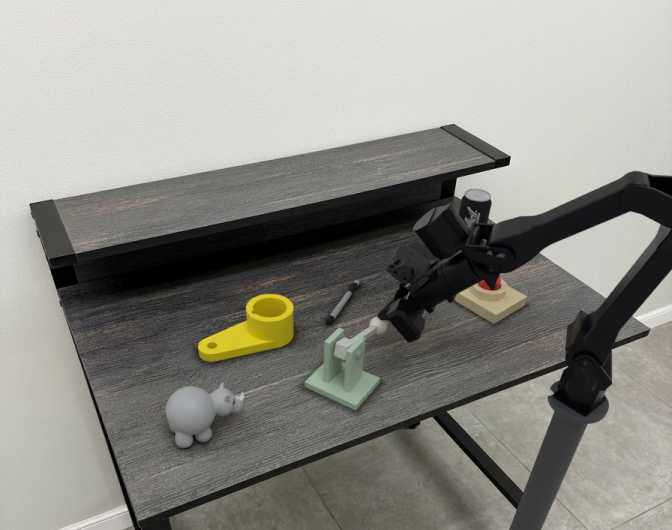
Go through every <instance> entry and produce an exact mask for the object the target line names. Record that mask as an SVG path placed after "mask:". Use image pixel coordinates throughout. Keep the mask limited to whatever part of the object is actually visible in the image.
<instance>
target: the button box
mask: <svg viewBox="0 0 672 530" xmlns="http://www.w3.org/2000/svg"><path fill="white" fill-rule="evenodd" d="M527 300H528V296H527V295H526V294H524V293H522V292H521V291H518V290H517V289H514V288H513V287H511V286H510V285H508V284H507V282H506V281H505V280H504V279H502V278H501V283H500V287H499V289H498V290H496V291H489V290H485V289H483V288H481V287H480V286H479V283H477V284H475V285H473V286H472V287H470V288H468V289H466V290H464V291H462V292H460V293H458V294H457V295H456V298H455V301H454V302H456V303H458V304H459V305H461V306H463V307H464V308H466V309H468V310H469V311H471V312H473V313H474V314H476V315H477V316H480V317H481V318H483V319H484V320H486V321H488V322H490V323H491V324H492V325H495V324H497V323H498V322H500V321H501V320H503V319H505V318H507V317H509V315H512V314H513V313H515V312H517V311H518V310H519V309H521V308H523V307H525V306H526V303H527Z"/></svg>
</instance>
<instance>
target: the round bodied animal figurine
mask: <svg viewBox="0 0 672 530" xmlns="http://www.w3.org/2000/svg"><path fill="white" fill-rule="evenodd" d="M224 385H225V383H224V381H222V382H221V383H220V384H219V386H218V388H216V389H215V390H213V391H212V392H211V393H209V392H207V391H206V390H205V389H203V388H201V387H198V386H193V385H190V386H189V385H188V386H183V387H181V388H179V389H177V390H176V391H174V392H173V393H172V394H171V395H170V397H169V398H168V400H167V403H166V405H165V407H164V412H165V416H166V420H167V422H168V428H169V430H170V431H171V432H172V433H174V434H175V436H174V440H175V445H176V446H177V447H178V448H181V449H187V448H189V447H191V446H192V444H193V442H194V438H195V440H196V441H197V442H200V443H207V442H209V441H210V440H211V439H212V437H213V430H212V428H211V425H212V424H213V422H214V419H215V417H216V416H219V417H225V416H228V415H230V414H238V413H239V412H241V411H242V409H243V407H244V400H245V394H244V392H243V391H241V392H240V395H236V394H233V393H232V391H231V390H229V389H228V388H225V387H224ZM193 436H194V437H193Z"/></svg>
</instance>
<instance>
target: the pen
mask: <svg viewBox="0 0 672 530" xmlns="http://www.w3.org/2000/svg"><path fill="white" fill-rule="evenodd" d="M360 280H361V279H354V281H353V282H352V284H350V287H349V288H348V290H346V292H345V294H344V295H343V297H341V299H340V300H339V302H338V303H337V305H336V306H335V307H334V309H333V310H332V312H331V313H329V315H328V317H327V318H326V321H325V324H327V325H331V324H332V323H333V322H334V321H335V319H336V318H337V317H338V315H339V314H340V313H341V311H342V309H343V308H344V307H345V305H346V304H347V303H348V301H349V299H350V298H351V297H352V295H353V294H354V292H355V291H356V290H357V288H358V287H359V286H360V285H361V283H360Z"/></svg>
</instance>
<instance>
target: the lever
mask: <svg viewBox="0 0 672 530" xmlns="http://www.w3.org/2000/svg"><path fill="white" fill-rule="evenodd" d="M387 330H388V322H387V320H380V319H379V318H378V317H377V316H373V318H371V320H370V321H369V323H368V327H366V328H365V329H364V330H362V331H360V332H359V333H358V334H355V336H353V337H351V338H348V337H345V336H344V338H342V339H341V340H339V341H337V342H336V344H335V350H334V356H336V357H338V358H341V359H342V361H346V350H347V349H348V348H349V347H350V346H351V345H352V344H353V343H354V342H355V341H356V340H357V339H358V338H359V337H360V336H361V337H363V338H365V341H366V340H367V339H368V338H370V337H371V336H373V335H378V336H381V335H382V334H384V333H386V331H387Z"/></svg>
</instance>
